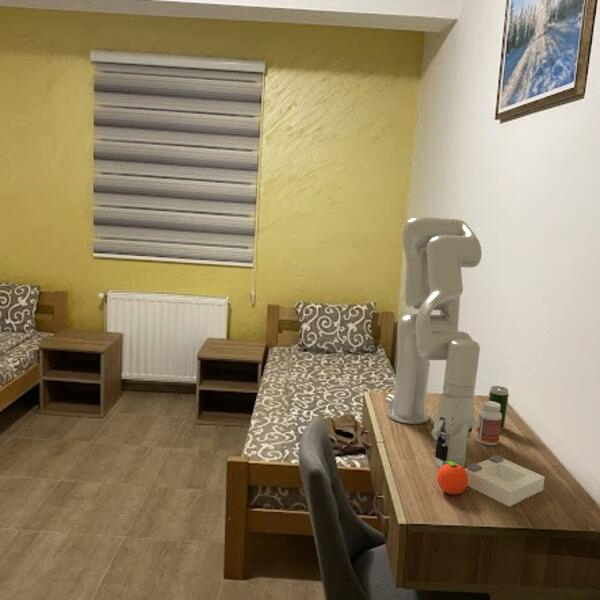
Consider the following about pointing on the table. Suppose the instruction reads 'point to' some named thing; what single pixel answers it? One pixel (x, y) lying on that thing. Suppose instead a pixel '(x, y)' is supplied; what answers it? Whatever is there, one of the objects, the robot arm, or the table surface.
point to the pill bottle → (489, 423)
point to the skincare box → (456, 447)
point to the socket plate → (504, 480)
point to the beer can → (500, 400)
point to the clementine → (452, 478)
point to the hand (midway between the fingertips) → (450, 455)
